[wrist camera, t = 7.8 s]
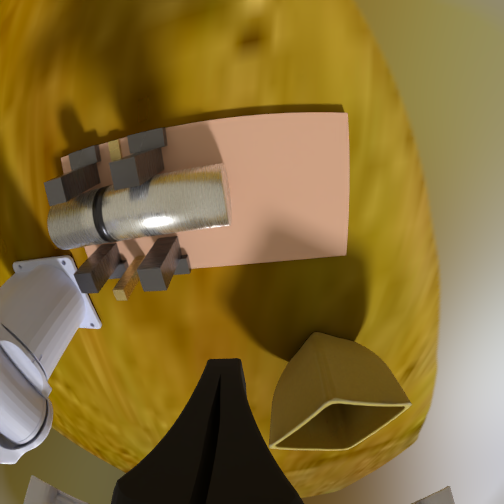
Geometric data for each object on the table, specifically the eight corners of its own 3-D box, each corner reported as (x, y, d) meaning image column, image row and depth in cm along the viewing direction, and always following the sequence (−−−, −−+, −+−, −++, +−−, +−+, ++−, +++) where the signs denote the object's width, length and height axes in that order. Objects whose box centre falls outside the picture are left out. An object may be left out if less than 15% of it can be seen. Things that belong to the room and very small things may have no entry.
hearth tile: (97, 272, 20) (94, 275, 20) (64, 156, 16) (60, 157, 15) (344, 252, 20) (346, 255, 19) (345, 113, 15) (347, 112, 14)
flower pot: (381, 331, 24) (414, 405, 16) (332, 383, 27) (348, 451, 19) (308, 308, 22) (330, 399, 14) (262, 368, 26) (266, 448, 18)
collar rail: (107, 275, 20) (82, 308, 16) (72, 152, 15) (34, 166, 11) (191, 269, 20) (178, 307, 16) (165, 127, 15) (137, 131, 11)
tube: (80, 246, 18) (51, 253, 14) (75, 200, 17) (45, 198, 14) (233, 224, 17) (226, 227, 14) (227, 168, 17) (218, 156, 13)
